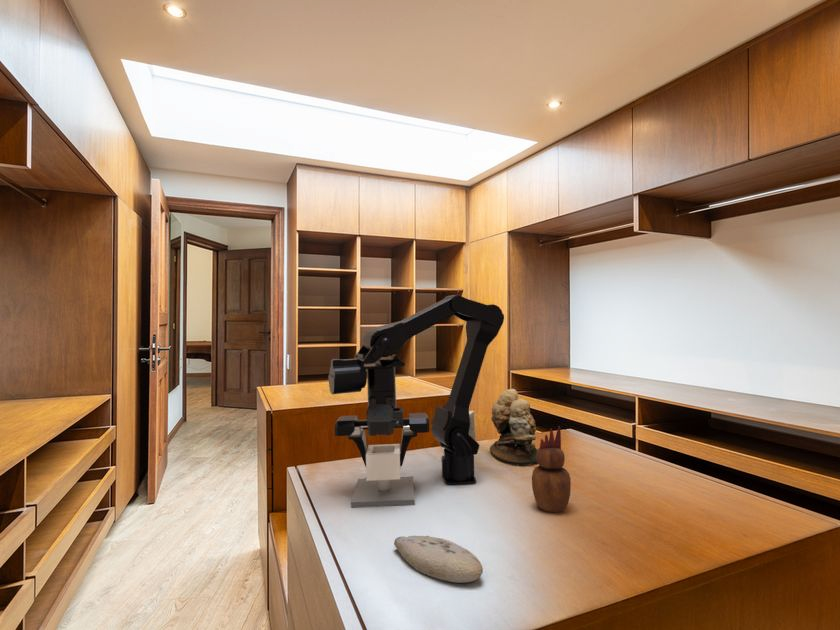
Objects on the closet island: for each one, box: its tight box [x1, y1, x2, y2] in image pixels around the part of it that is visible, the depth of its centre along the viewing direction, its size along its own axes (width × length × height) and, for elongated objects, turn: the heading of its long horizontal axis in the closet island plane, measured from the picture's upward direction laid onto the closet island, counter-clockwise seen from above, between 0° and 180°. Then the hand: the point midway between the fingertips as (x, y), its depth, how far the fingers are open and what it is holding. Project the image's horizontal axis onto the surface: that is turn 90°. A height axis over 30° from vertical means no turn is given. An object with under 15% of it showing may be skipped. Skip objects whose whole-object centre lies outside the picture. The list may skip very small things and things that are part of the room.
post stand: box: [350, 476, 416, 509], centre depth 89 cm, size 12×12×6 cm
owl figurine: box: [489, 388, 539, 467], centre depth 110 cm, size 18×12×17 cm, turn 12°
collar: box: [365, 443, 402, 481], centre depth 89 cm, size 7×7×5 cm
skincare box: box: [469, 410, 476, 441], centre depth 115 cm, size 5×4×10 cm
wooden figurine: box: [531, 425, 572, 513], centre depth 80 cm, size 7×6×15 cm
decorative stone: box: [393, 535, 484, 584], centre depth 62 cm, size 6×16×3 cm, turn 53°
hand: (384, 466), depth 89 cm, fingers closed on collar, 7 cm apart
